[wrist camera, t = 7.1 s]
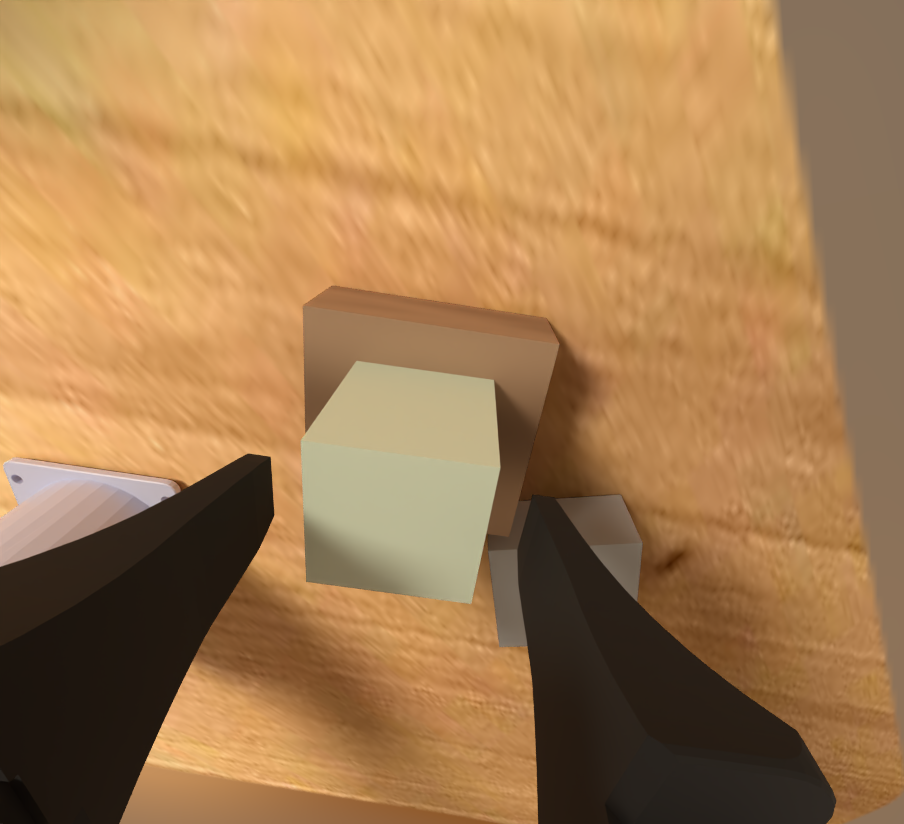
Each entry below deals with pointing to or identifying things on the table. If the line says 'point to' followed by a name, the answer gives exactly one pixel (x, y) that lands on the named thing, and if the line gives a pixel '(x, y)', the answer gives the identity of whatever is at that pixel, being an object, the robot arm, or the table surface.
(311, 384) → the walnut block
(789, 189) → the table surface
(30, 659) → the robot arm
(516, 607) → the slate block
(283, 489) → the table surface
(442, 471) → the sage block
